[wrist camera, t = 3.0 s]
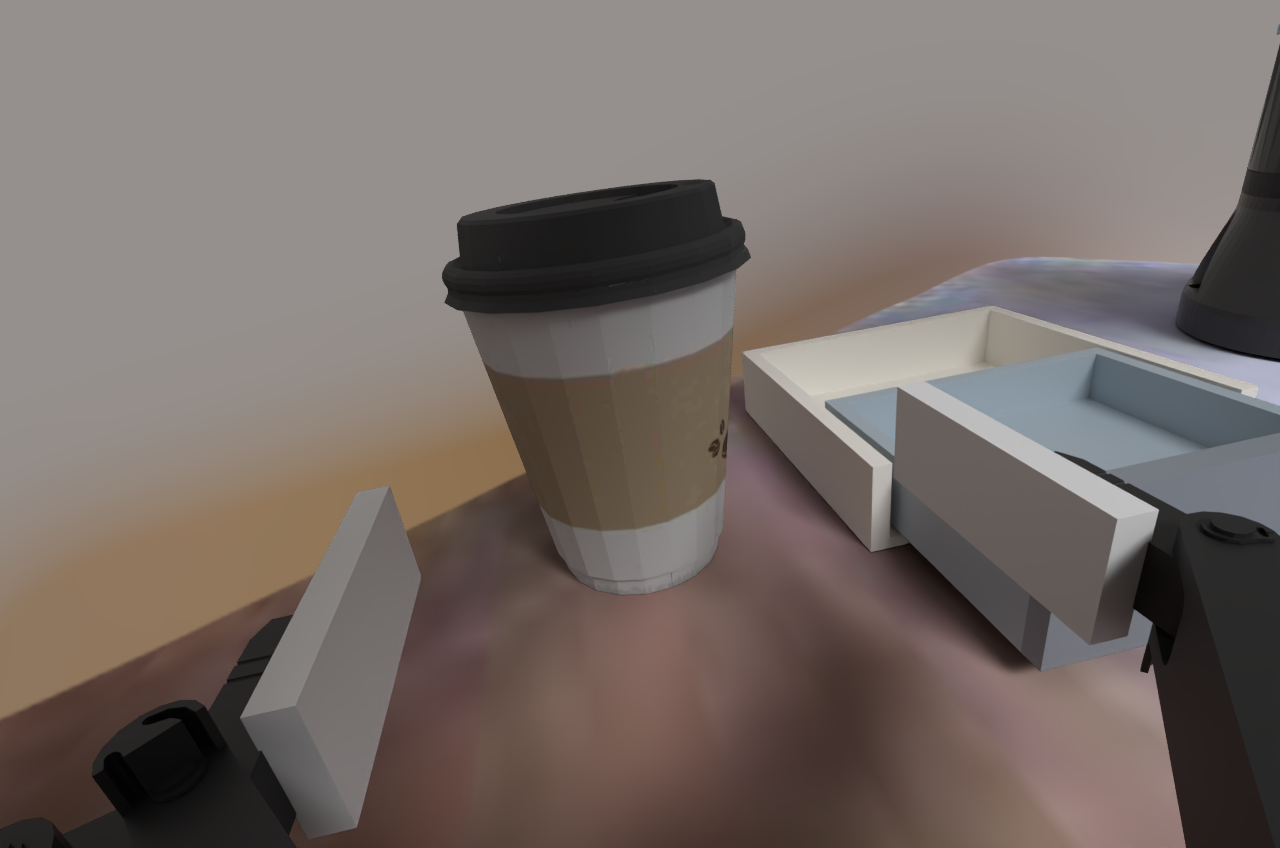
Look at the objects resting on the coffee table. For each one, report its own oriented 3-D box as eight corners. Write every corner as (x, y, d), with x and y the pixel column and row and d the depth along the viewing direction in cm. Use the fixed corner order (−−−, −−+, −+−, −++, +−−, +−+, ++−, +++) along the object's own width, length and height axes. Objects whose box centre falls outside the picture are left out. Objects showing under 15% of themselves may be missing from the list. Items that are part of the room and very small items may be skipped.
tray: (1087, 404, 33) (1107, 292, 30) (1460, 565, 20) (1549, 392, 17) (825, 458, 31) (824, 345, 29) (1040, 671, 18) (1071, 498, 16)
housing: (986, 363, 42) (992, 305, 40) (1234, 470, 27) (1258, 386, 25) (745, 410, 40) (741, 351, 38) (871, 552, 25) (873, 467, 24)
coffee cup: (801, 610, 23) (787, 182, 17) (499, 654, 23) (375, 243, 17) (739, 467, 33) (716, 170, 27) (531, 497, 33) (462, 208, 27)
